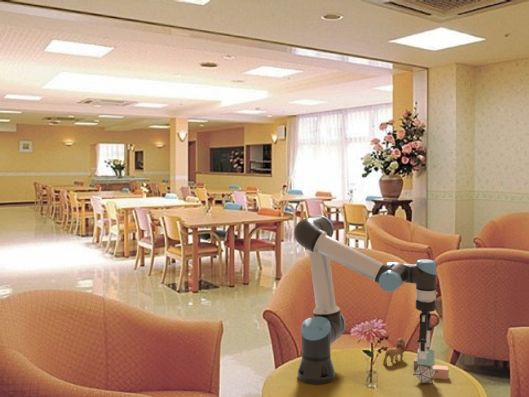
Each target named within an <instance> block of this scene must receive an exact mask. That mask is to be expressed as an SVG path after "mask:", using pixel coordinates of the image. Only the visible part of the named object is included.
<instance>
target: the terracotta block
mask: <svg viewBox="0 0 529 397" xmlns="http://www.w3.org/2000/svg"><path fill="white" fill-rule="evenodd" d="M432 368H433V369H434V370H435V371H438V373H437V372H436V374H435V376H434V378H433V379H442V380H449V377H450V376H449V375H450V374H449V367H448V365H436V364H435V365H434V366H432Z"/></svg>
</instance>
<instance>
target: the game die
mask: <svg viewBox="0 0 529 397" xmlns="http://www.w3.org/2000/svg"><path fill="white" fill-rule="evenodd" d="M436 372H437V373H438V371H435V370H434V369H433V368H432V367H431V366H426V365H419V364H418V367H417V370H415V373H413V374H412V375H413V376H415V377H416V378H417V379H418V380H419V381H420V382H421V386H423V385H424V384H427V383H431V384H434V382H433V381H434V379H435V378H434V376H435V374H436Z"/></svg>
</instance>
